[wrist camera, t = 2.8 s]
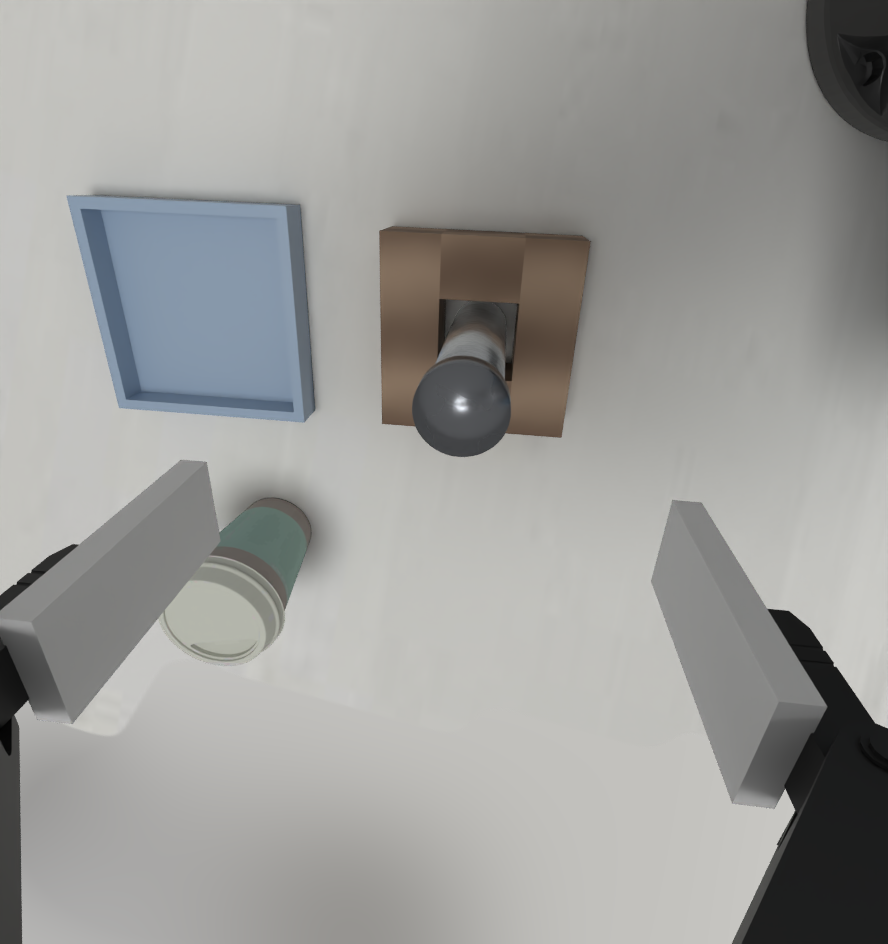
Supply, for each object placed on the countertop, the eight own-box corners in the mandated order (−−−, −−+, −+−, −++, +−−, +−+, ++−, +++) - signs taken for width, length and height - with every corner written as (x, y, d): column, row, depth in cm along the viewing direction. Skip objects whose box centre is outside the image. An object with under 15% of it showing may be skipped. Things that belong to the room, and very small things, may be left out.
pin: (450, 293, 37) (412, 360, 23) (513, 296, 37) (515, 367, 22) (447, 354, 39) (411, 452, 24) (507, 358, 38) (506, 460, 24)
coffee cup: (222, 547, 49) (142, 646, 38) (239, 468, 45) (156, 555, 34) (313, 580, 50) (260, 687, 39) (339, 505, 46) (286, 602, 35)
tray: (93, 195, 36) (66, 195, 34) (299, 204, 35) (286, 206, 33) (139, 396, 43) (119, 407, 41) (315, 410, 42) (304, 422, 40)
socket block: (392, 226, 35) (379, 230, 32) (582, 235, 34) (590, 241, 31) (393, 403, 41) (382, 423, 37) (556, 415, 40) (561, 437, 36)
